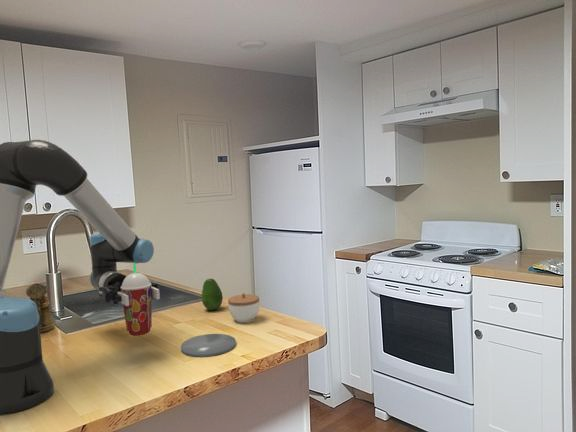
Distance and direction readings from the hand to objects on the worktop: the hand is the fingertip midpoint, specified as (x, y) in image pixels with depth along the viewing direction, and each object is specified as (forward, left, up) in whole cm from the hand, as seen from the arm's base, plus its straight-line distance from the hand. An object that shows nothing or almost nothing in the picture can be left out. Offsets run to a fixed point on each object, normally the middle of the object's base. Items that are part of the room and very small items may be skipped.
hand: (143, 297), depth 128 cm
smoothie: (+4, +2, -11) cm, 12 cm away
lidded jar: (+28, -29, -18) cm, 44 cm away
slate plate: (+6, -17, -18) cm, 25 cm away
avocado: (+44, -18, -18) cm, 51 cm away
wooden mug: (+36, +41, -18) cm, 57 cm away
